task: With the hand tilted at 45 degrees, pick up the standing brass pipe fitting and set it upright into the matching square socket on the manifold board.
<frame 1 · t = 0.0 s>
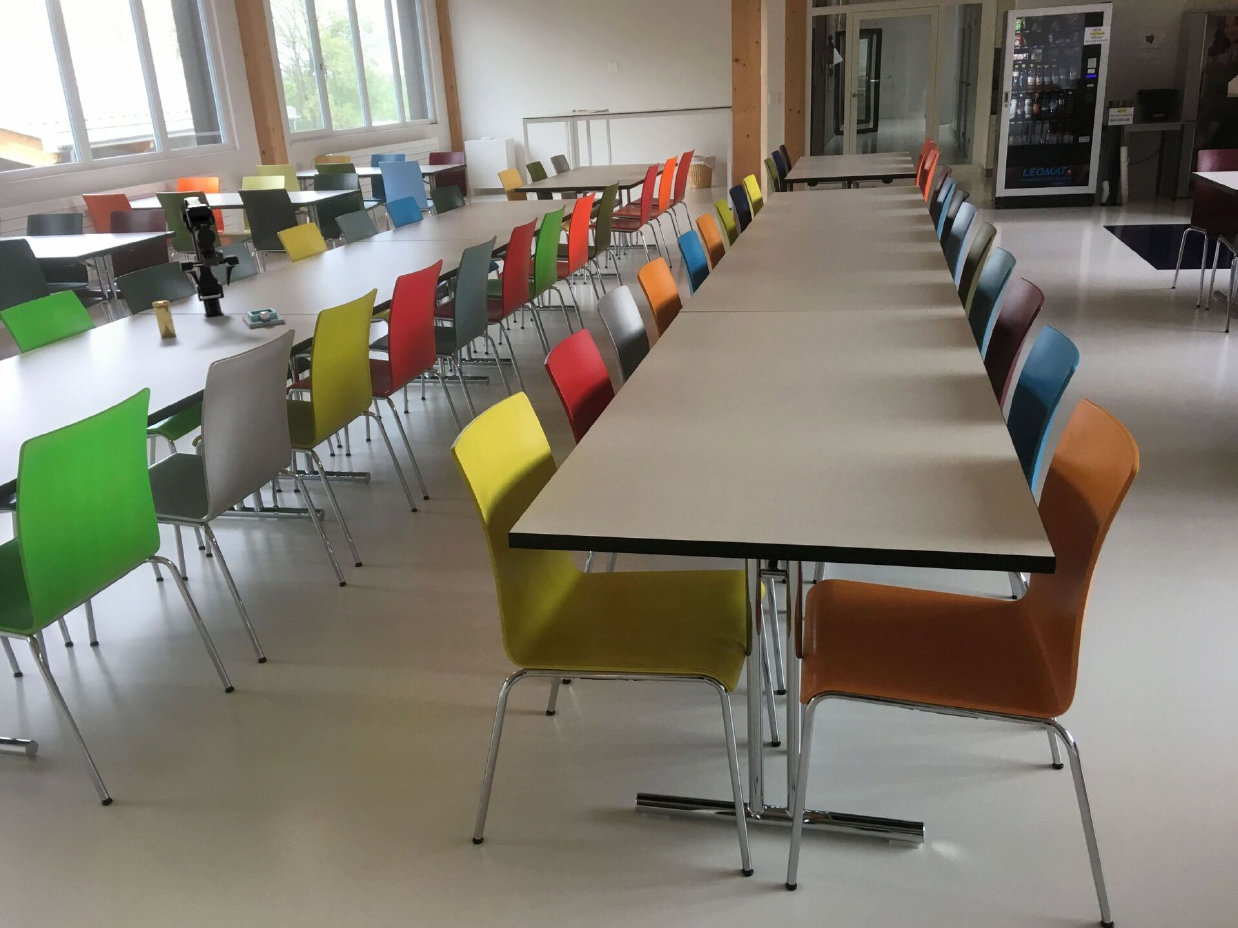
hand: (214, 287, 336), 14 cm above the table, fingers open, 9 cm apart
brass fitting: (168, 336, 334), on the table
manifold board: (263, 321, 348), on the table
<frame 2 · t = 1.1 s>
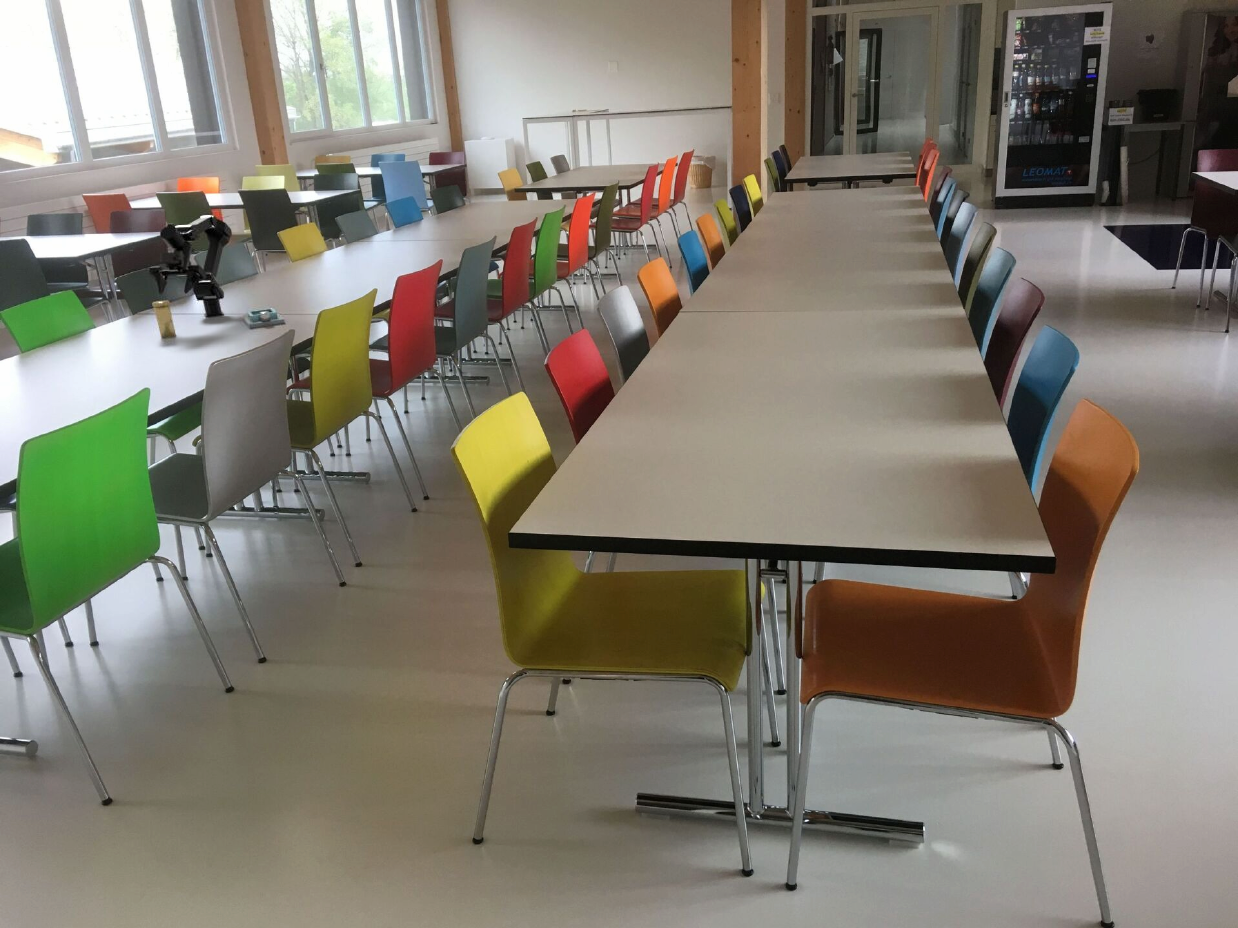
hand: (172, 293, 337), 13 cm above the table, fingers open, 9 cm apart
nothing on the table moved.
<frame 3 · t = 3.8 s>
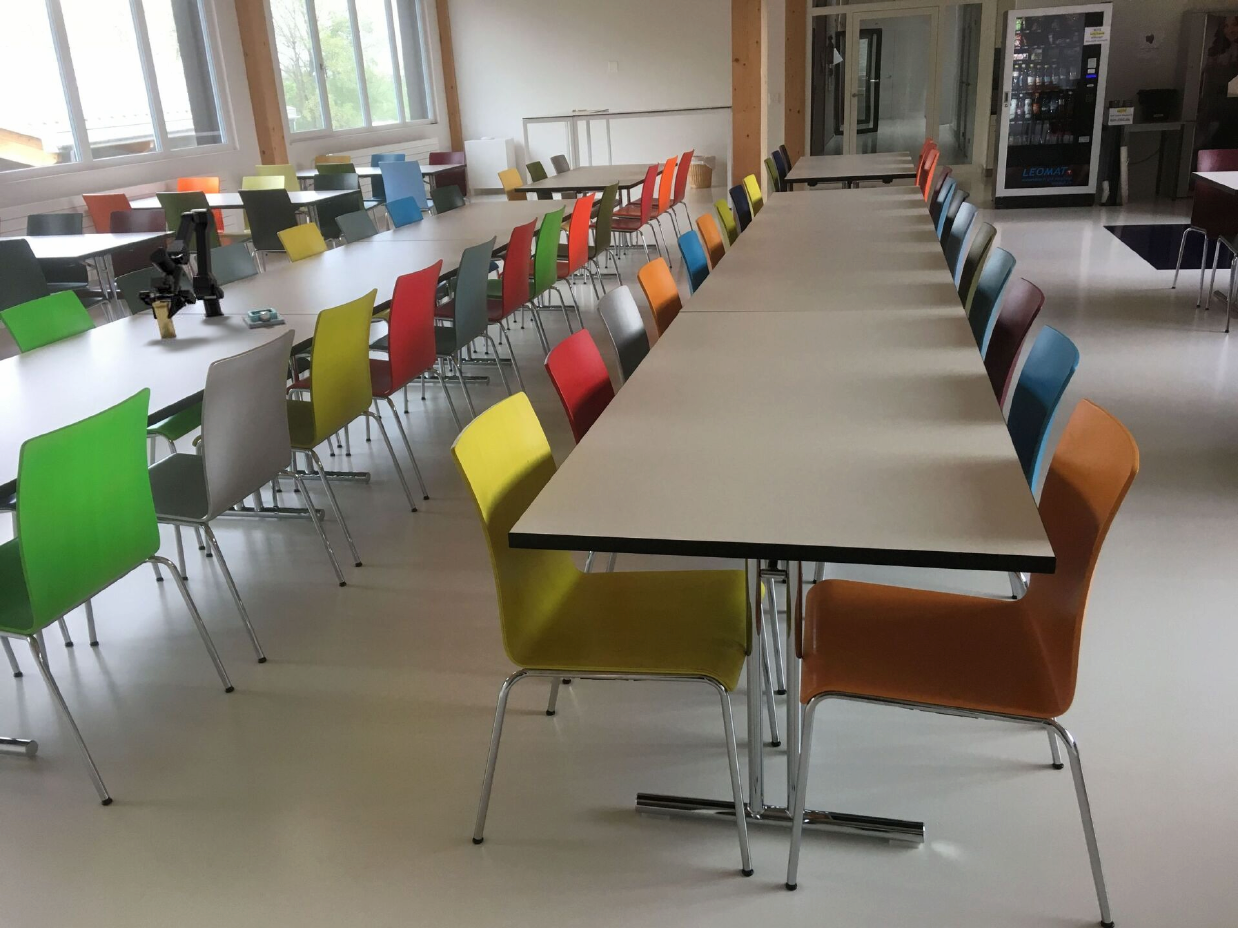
hand: (162, 318, 330), 7 cm above the table, fingers closed on brass fitting, 5 cm apart
brass fitting: (168, 336, 334), on the table, touching gripper
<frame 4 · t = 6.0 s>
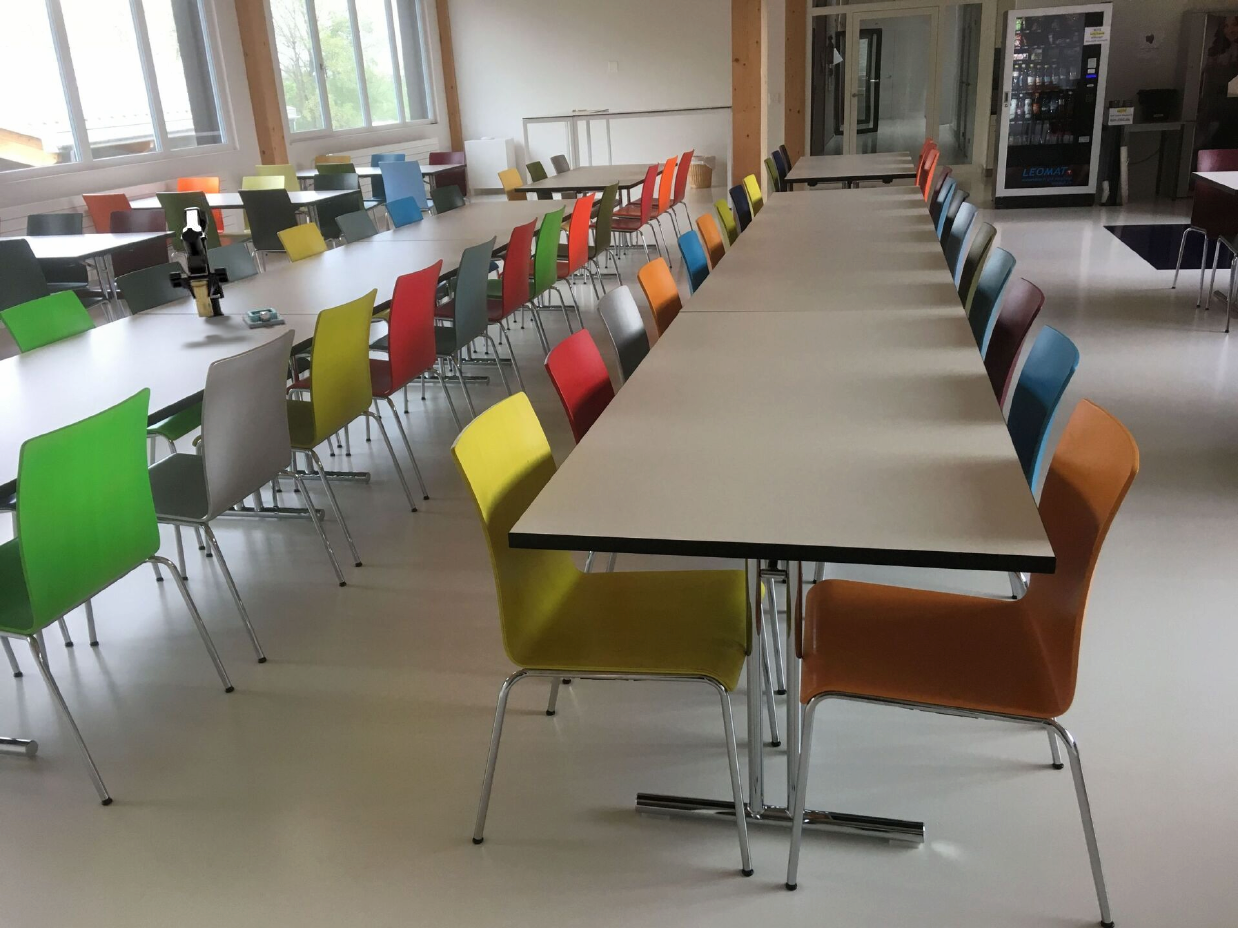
hand: (201, 297, 331), 12 cm above the table, fingers closed on brass fitting, 5 cm apart
brass fitting: (206, 315, 334), point 6 cm above the table, touching gripper
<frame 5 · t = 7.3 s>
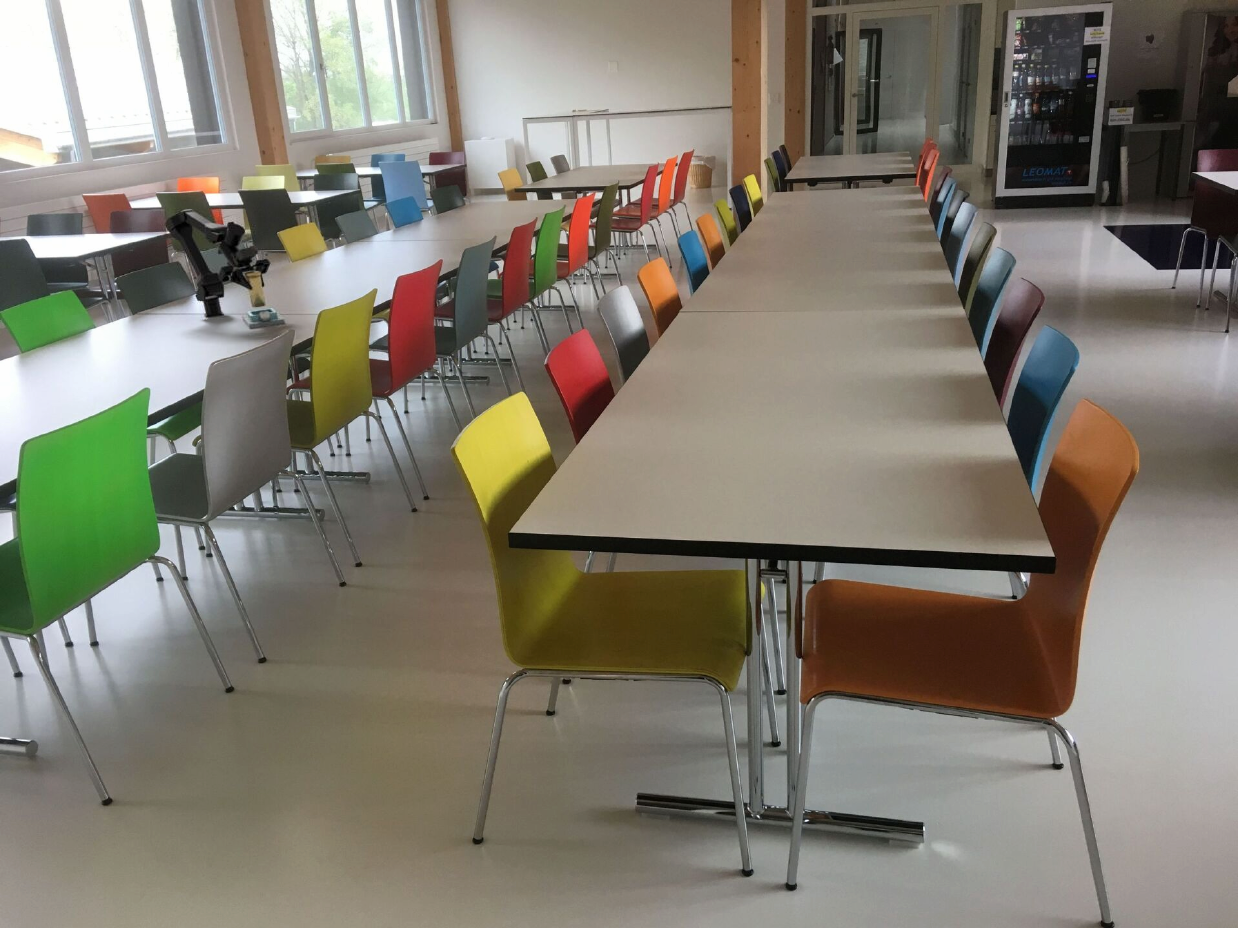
hand: (257, 287, 342), 12 cm above the table, fingers closed on brass fitting, 5 cm apart
brass fitting: (258, 305, 346), point 6 cm above the table, touching gripper
when the fingers open (9 cm above the table, at t = 8.5 s): brass fitting drops 1 cm, resting on manifold board.
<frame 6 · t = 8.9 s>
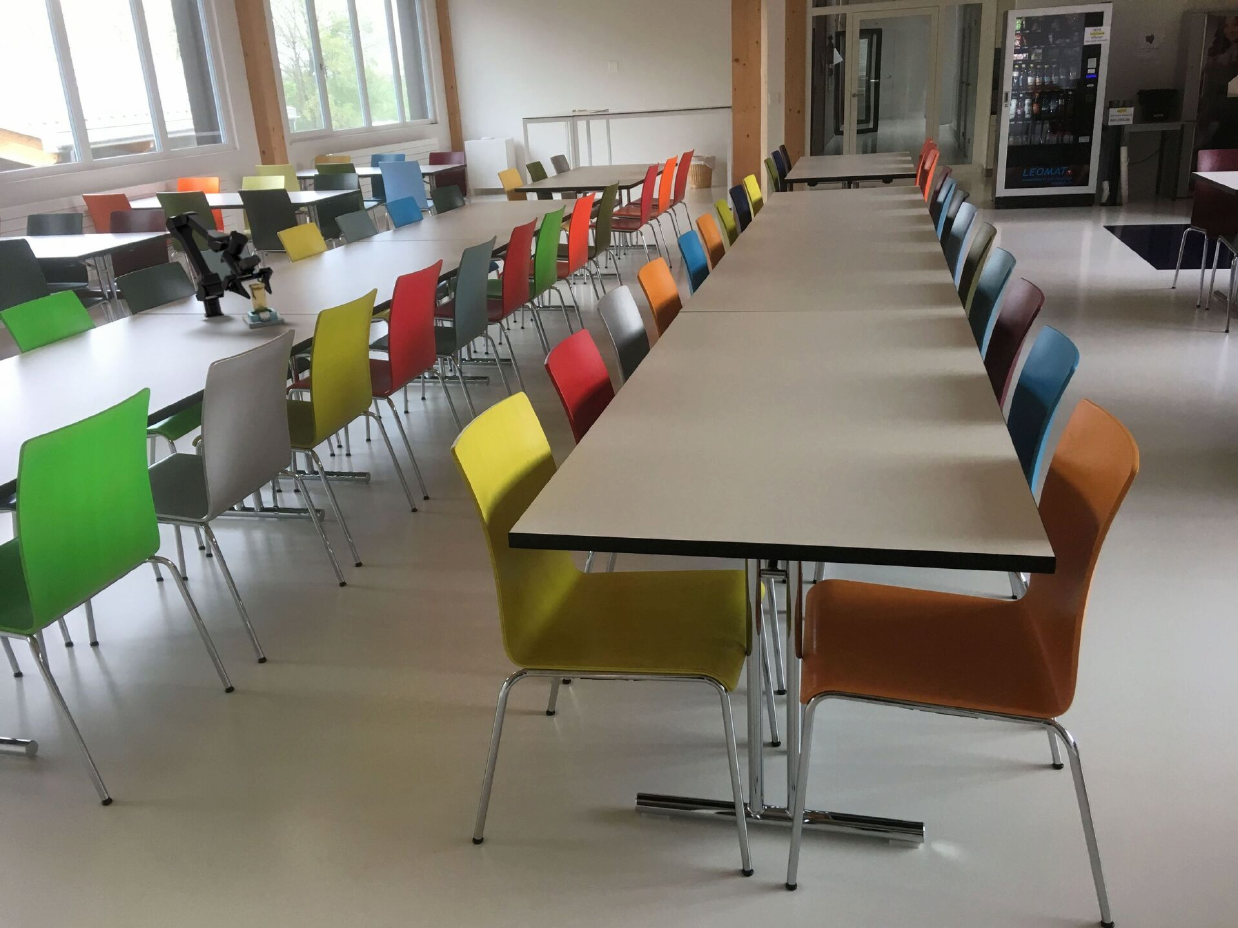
hand: (260, 296, 344), 9 cm above the table, fingers open, 9 cm apart
brass fitting: (262, 317, 348), point 2 cm above the table, touching manifold board
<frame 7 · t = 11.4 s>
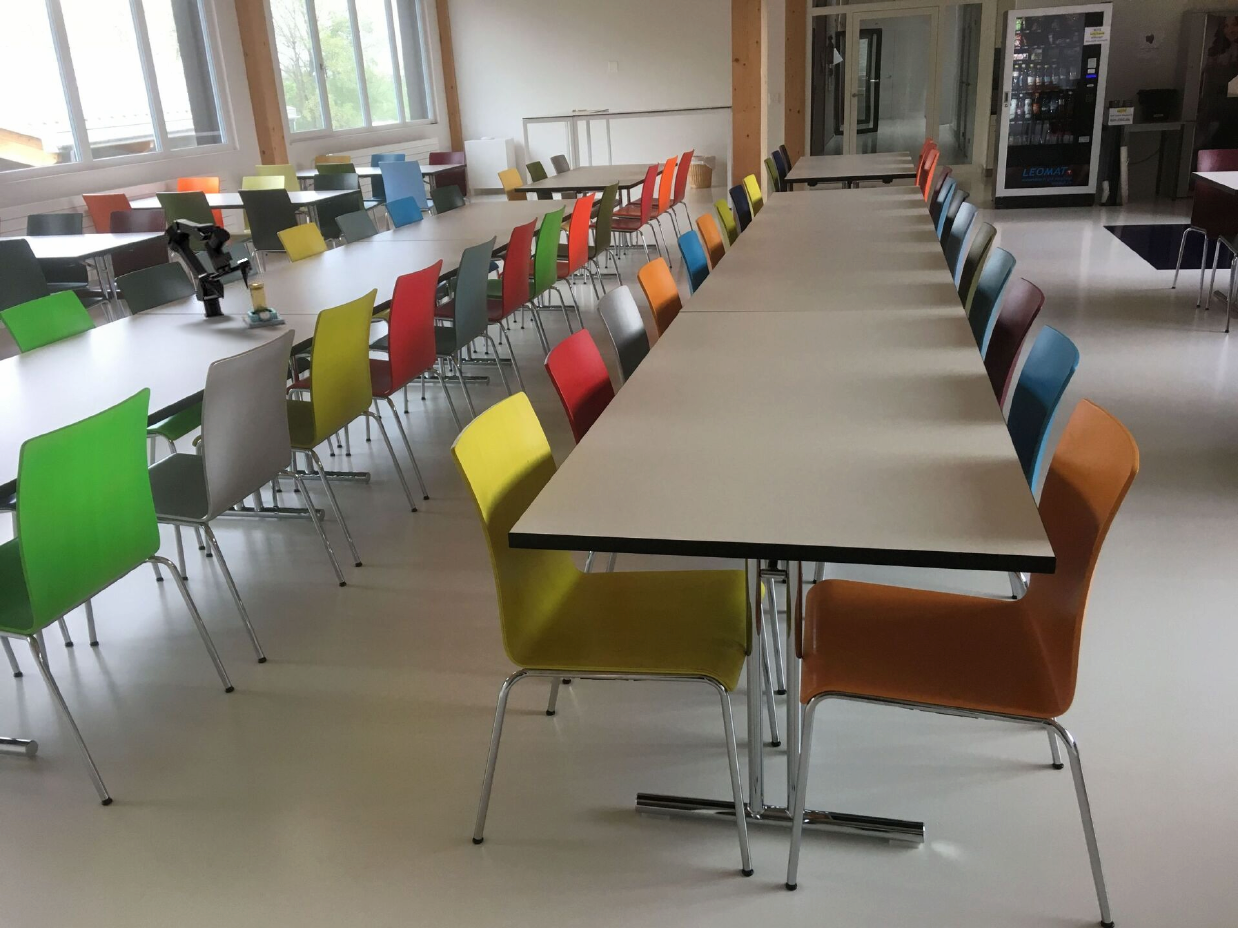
hand: (235, 293, 348), 10 cm above the table, fingers open, 9 cm apart
nothing on the table moved.
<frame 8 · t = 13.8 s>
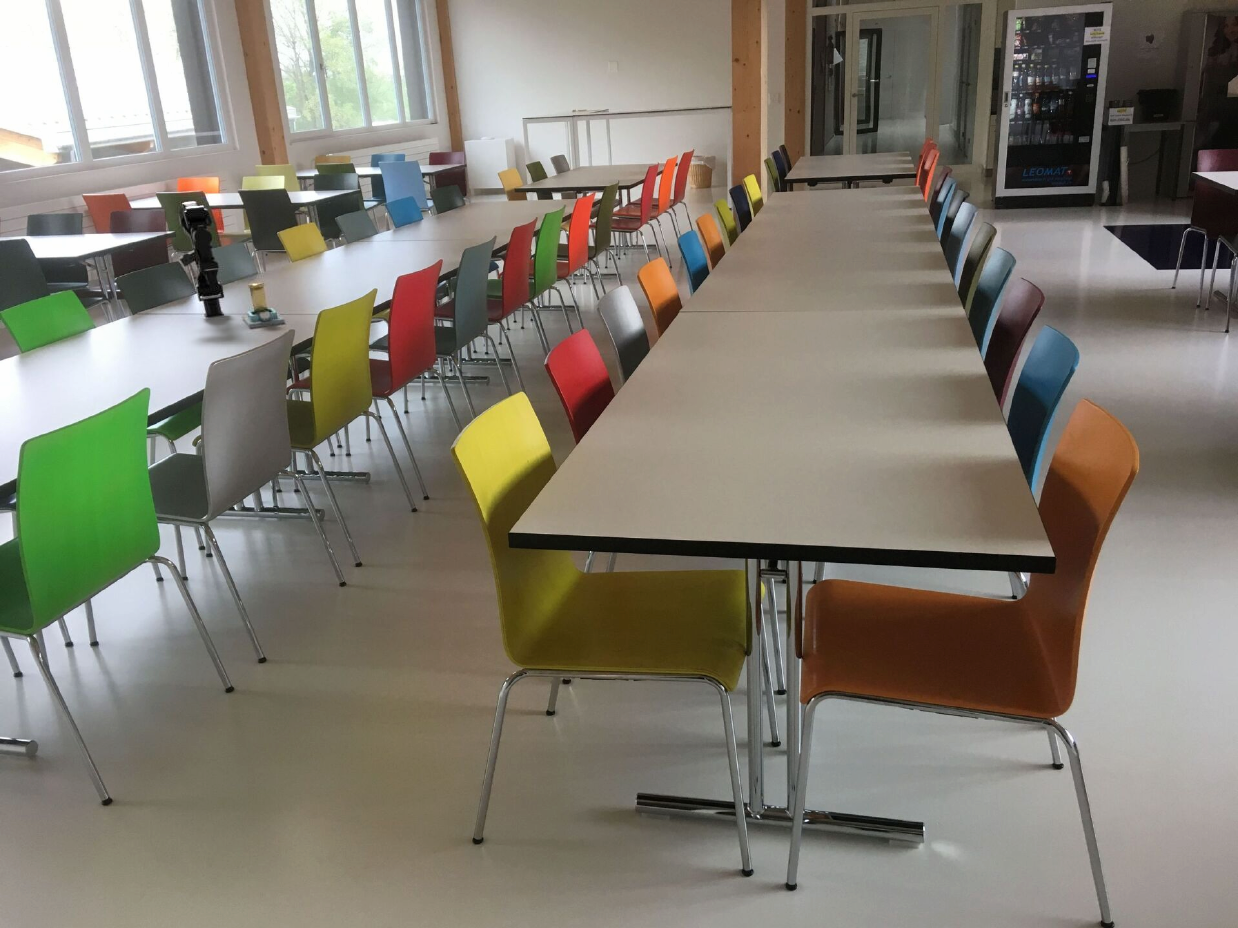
hand: (211, 286, 348), 13 cm above the table, fingers open, 9 cm apart
nothing on the table moved.
at the end: brass fitting 0.0 cm off-centre on the manifold board, point 1.5 cm above the manifold board's base; brass fitting tilted 1°; the gripper is holding nothing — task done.
